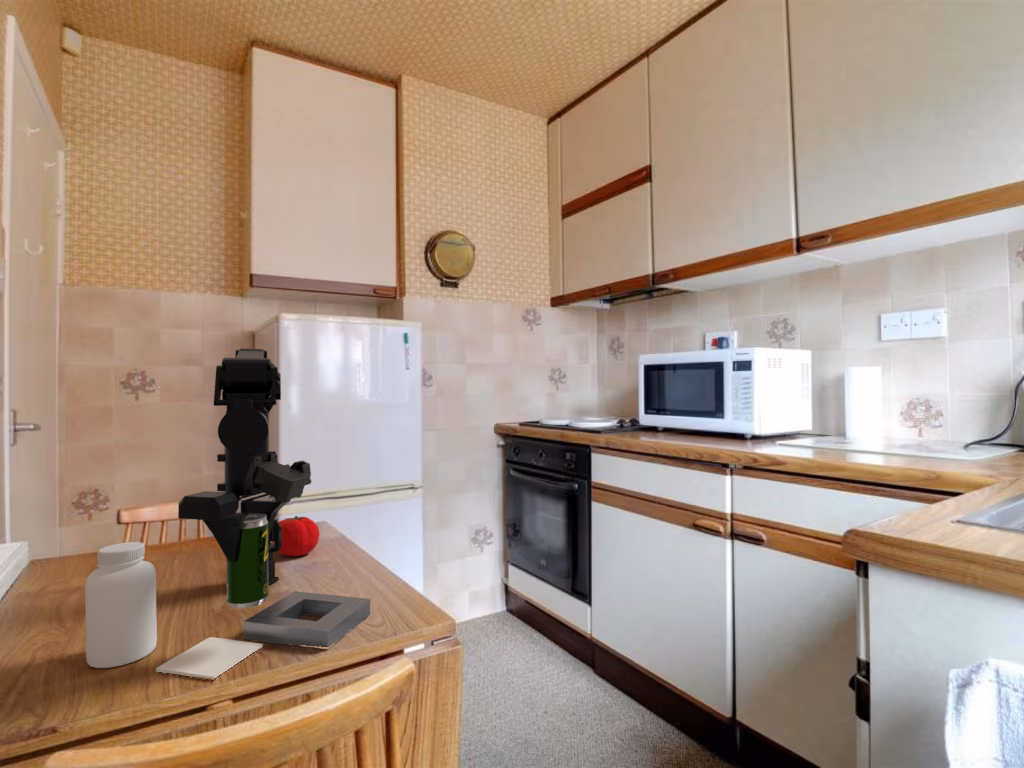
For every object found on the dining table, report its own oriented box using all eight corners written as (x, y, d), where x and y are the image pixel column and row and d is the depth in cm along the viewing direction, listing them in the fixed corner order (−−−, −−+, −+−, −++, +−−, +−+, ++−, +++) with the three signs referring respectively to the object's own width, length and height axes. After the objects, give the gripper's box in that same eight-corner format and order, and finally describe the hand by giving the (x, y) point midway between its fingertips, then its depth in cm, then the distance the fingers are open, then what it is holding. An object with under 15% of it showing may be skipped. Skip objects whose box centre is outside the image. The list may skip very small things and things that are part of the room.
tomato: (310, 561, 115) (310, 521, 115) (262, 561, 115) (262, 521, 115) (326, 548, 124) (325, 511, 124) (281, 548, 124) (281, 511, 124)
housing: (243, 639, 79) (243, 621, 79) (295, 606, 91) (295, 591, 91) (328, 650, 76) (328, 631, 76) (370, 614, 88) (370, 598, 88)
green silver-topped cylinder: (228, 612, 73) (228, 523, 73) (224, 599, 77) (224, 516, 77) (271, 603, 76) (271, 518, 76) (265, 591, 80) (265, 511, 80)
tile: (155, 672, 70) (155, 668, 70) (210, 640, 79) (210, 636, 79) (213, 680, 68) (213, 676, 68) (262, 647, 77) (262, 643, 77)
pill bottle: (110, 642, 78) (110, 539, 78) (168, 640, 79) (168, 538, 79) (70, 671, 70) (70, 556, 70) (135, 668, 71) (135, 554, 71)
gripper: (251, 455, 66) (251, 582, 66) (333, 440, 84) (333, 540, 84) (174, 453, 68) (174, 576, 68) (270, 439, 87) (270, 536, 86)
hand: (247, 555), depth 77 cm, fingers closed on green silver-topped cylinder, 5 cm apart
